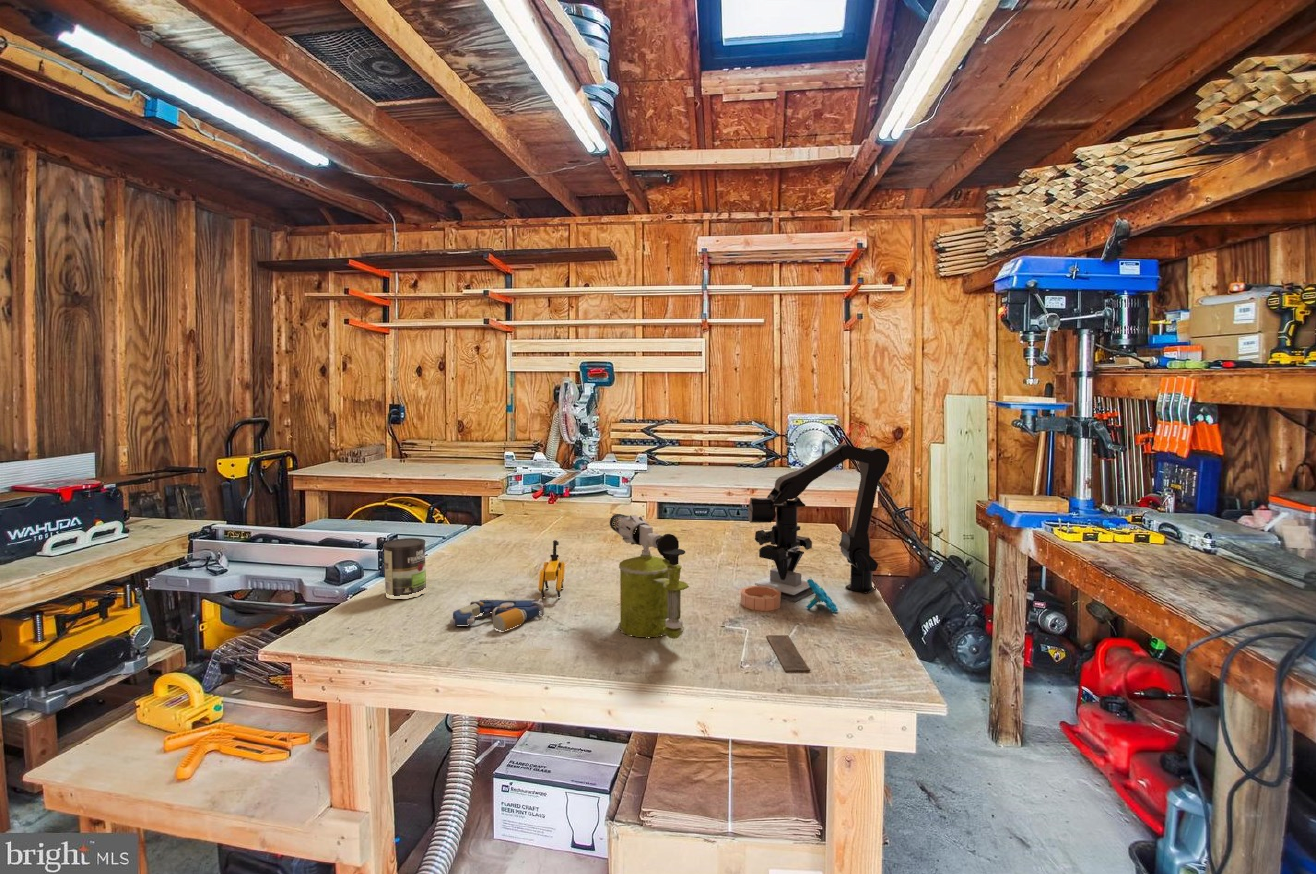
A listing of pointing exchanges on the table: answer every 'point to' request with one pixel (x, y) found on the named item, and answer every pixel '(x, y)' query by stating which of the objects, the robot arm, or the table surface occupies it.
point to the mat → (797, 595)
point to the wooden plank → (787, 653)
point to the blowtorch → (649, 581)
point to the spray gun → (499, 612)
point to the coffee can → (404, 566)
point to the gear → (820, 596)
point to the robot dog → (552, 572)
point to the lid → (785, 582)
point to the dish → (760, 598)
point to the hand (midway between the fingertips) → (785, 578)
